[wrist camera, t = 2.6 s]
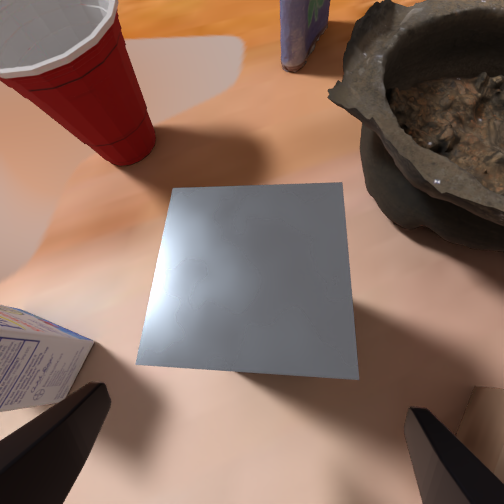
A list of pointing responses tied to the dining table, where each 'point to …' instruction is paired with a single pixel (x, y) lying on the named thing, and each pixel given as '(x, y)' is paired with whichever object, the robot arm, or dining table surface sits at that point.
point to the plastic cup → (77, 72)
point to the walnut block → (485, 428)
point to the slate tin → (253, 283)
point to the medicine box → (36, 360)
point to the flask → (301, 29)
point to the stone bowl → (431, 115)
